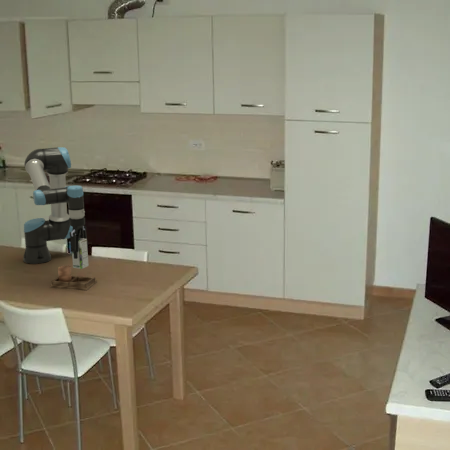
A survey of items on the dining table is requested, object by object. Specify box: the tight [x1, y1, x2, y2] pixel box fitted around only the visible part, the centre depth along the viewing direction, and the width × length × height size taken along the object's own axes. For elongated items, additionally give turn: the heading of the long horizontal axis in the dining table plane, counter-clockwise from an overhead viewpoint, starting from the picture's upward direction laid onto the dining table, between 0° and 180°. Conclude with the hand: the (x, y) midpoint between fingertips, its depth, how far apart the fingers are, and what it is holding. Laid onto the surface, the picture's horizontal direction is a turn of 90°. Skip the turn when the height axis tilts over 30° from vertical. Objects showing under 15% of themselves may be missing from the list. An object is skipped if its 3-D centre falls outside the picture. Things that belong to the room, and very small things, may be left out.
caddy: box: [49, 265, 98, 291], centre depth 350 cm, size 20×12×9 cm, turn 75°
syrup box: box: [71, 238, 90, 270], centre depth 346 cm, size 6×6×14 cm
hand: (80, 262), depth 347 cm, fingers closed on syrup box, 7 cm apart
